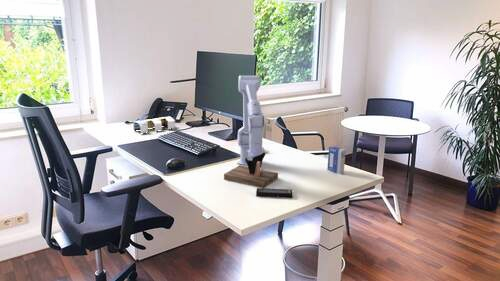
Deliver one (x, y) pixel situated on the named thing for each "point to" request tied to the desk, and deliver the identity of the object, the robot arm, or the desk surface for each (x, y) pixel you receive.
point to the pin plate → (250, 177)
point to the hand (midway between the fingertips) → (255, 171)
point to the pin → (257, 171)
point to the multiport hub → (274, 193)
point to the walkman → (336, 160)
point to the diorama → (153, 124)
